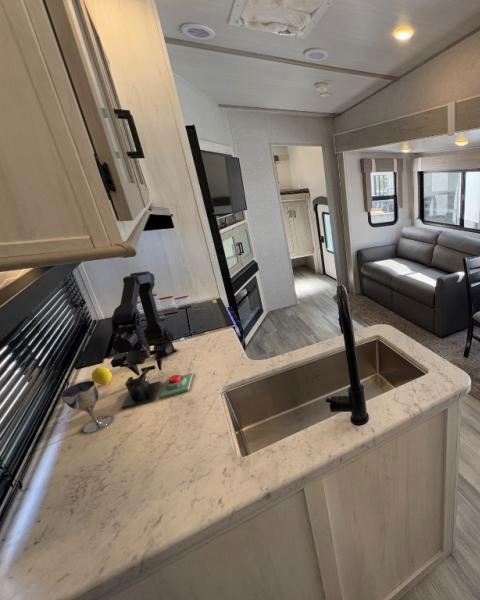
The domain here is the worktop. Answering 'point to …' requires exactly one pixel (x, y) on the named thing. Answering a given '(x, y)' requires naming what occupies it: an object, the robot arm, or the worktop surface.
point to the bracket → (140, 392)
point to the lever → (145, 370)
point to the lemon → (101, 375)
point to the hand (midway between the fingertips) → (149, 372)
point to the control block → (176, 386)
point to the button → (174, 379)
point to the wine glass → (85, 403)
